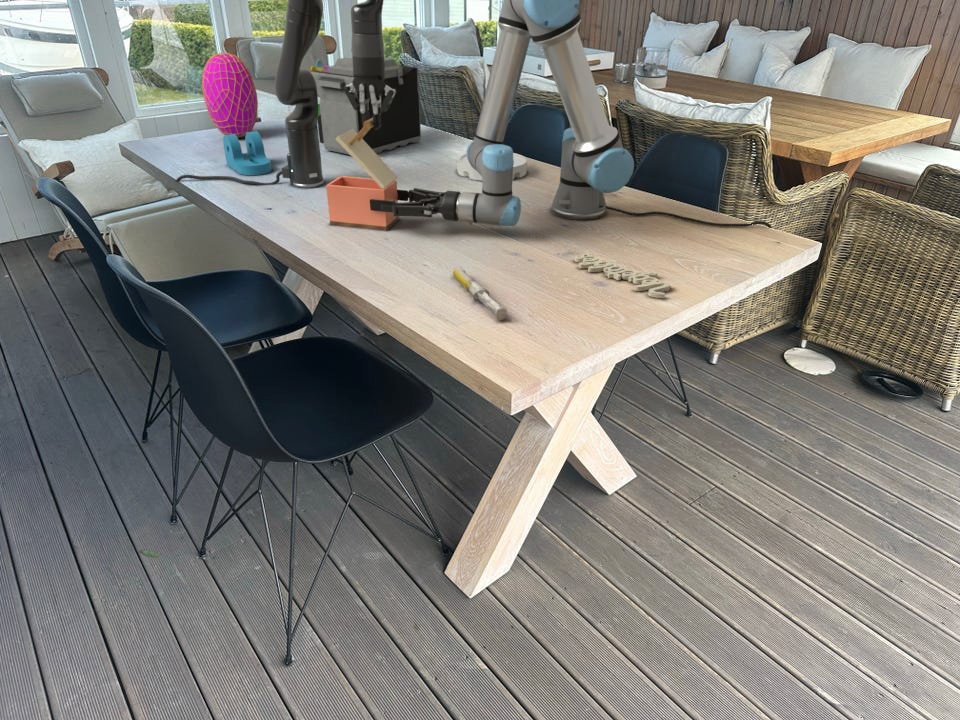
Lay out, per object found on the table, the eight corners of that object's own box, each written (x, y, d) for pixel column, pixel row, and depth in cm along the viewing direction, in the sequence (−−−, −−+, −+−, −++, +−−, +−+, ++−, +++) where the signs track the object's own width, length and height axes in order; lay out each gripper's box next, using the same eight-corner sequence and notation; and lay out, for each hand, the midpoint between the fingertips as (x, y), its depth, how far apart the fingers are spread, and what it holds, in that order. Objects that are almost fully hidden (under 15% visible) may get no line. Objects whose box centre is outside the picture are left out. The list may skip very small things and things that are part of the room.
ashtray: (459, 161, 239) (459, 150, 237) (525, 163, 239) (526, 151, 237) (455, 180, 219) (455, 167, 217) (527, 181, 219) (528, 169, 217)
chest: (330, 224, 183) (325, 185, 177) (344, 214, 190) (340, 175, 185) (386, 230, 179) (384, 190, 174) (398, 219, 187) (396, 180, 181)
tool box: (383, 133, 276) (378, 52, 261) (425, 141, 265) (422, 56, 250) (314, 150, 251) (304, 61, 235) (358, 160, 240) (350, 67, 224)
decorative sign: (686, 282, 150) (660, 295, 144) (686, 286, 150) (659, 300, 144) (592, 249, 166) (565, 259, 160) (592, 253, 167) (565, 263, 161)
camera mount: (227, 164, 233) (221, 132, 227) (257, 160, 238) (252, 129, 233) (244, 176, 220) (239, 143, 215) (276, 172, 225) (271, 139, 220)
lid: (335, 139, 170) (357, 113, 166) (350, 131, 178) (371, 106, 173) (382, 189, 174) (405, 165, 169) (395, 179, 181) (417, 156, 177)
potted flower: (317, 124, 290) (310, 59, 277) (312, 120, 296) (305, 57, 283) (338, 122, 294) (333, 58, 281) (333, 118, 300) (327, 56, 287)
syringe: (449, 274, 155) (449, 263, 153) (465, 272, 156) (464, 260, 154) (490, 323, 135) (491, 310, 133) (508, 319, 136) (508, 307, 134)
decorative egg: (227, 145, 256) (212, 58, 241) (201, 136, 267) (185, 53, 252) (272, 137, 268) (260, 53, 253) (245, 129, 280) (233, 49, 264)
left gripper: (401, 53, 164) (403, 128, 173) (347, 49, 167) (352, 123, 176) (389, 57, 158) (392, 134, 167) (334, 53, 161) (339, 129, 170)
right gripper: (447, 235, 168) (362, 226, 173) (471, 207, 187) (393, 200, 191) (447, 205, 165) (360, 197, 169) (471, 180, 183) (391, 173, 188)
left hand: (371, 128), depth 171 cm, fingers closed on lid, 2 cm apart
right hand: (377, 199), depth 180 cm, fingers closed on chest, 9 cm apart
